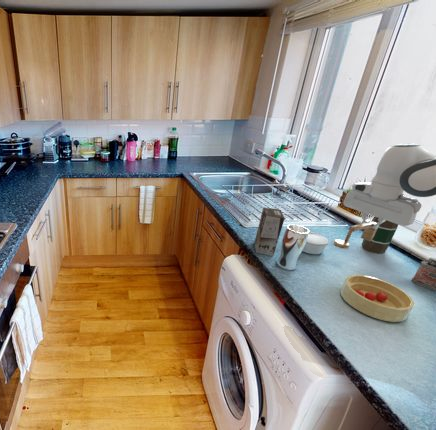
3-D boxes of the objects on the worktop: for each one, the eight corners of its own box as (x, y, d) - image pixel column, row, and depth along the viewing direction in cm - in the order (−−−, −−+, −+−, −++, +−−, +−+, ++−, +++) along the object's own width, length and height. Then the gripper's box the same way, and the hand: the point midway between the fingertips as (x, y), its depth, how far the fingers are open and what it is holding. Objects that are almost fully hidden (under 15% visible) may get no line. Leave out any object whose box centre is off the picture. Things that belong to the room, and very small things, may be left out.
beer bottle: (368, 252, 113) (394, 196, 103) (356, 243, 120) (379, 189, 110) (390, 255, 112) (418, 197, 102) (377, 245, 119) (402, 190, 109)
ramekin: (312, 241, 120) (316, 230, 118) (331, 256, 110) (336, 244, 108) (286, 241, 120) (289, 230, 118) (303, 256, 110) (307, 244, 107)
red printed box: (411, 282, 96) (425, 257, 92) (411, 278, 98) (424, 253, 94) (445, 293, 91) (462, 267, 87) (444, 288, 93) (460, 263, 89)
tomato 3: (381, 297, 88) (391, 297, 85) (378, 303, 87) (387, 303, 84) (375, 291, 88) (384, 290, 85) (371, 296, 87) (381, 296, 85)
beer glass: (279, 257, 108) (290, 222, 102) (299, 265, 104) (312, 229, 97) (272, 265, 104) (283, 228, 97) (293, 273, 99) (306, 235, 93)
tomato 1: (363, 300, 86) (355, 296, 89) (367, 293, 86) (359, 288, 88) (357, 300, 86) (349, 295, 88) (361, 292, 85) (352, 287, 88)
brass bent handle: (343, 249, 99) (351, 231, 96) (330, 243, 103) (337, 226, 100) (374, 241, 106) (382, 224, 103) (360, 236, 110) (368, 219, 107)
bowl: (417, 314, 82) (425, 300, 80) (387, 330, 77) (395, 316, 75) (358, 282, 95) (364, 270, 93) (328, 294, 90) (334, 281, 87)
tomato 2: (366, 299, 85) (370, 291, 85) (361, 297, 88) (364, 290, 88) (376, 303, 85) (379, 295, 85) (370, 301, 87) (373, 294, 87)
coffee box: (274, 256, 109) (285, 218, 102) (255, 253, 111) (265, 215, 104) (271, 245, 117) (281, 209, 110) (253, 242, 119) (263, 206, 112)
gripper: (429, 200, 91) (409, 237, 97) (358, 181, 108) (345, 214, 114) (418, 202, 89) (399, 241, 95) (348, 183, 106) (335, 216, 112)
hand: (369, 226), depth 105 cm, fingers closed on brass bent handle, 2 cm apart
